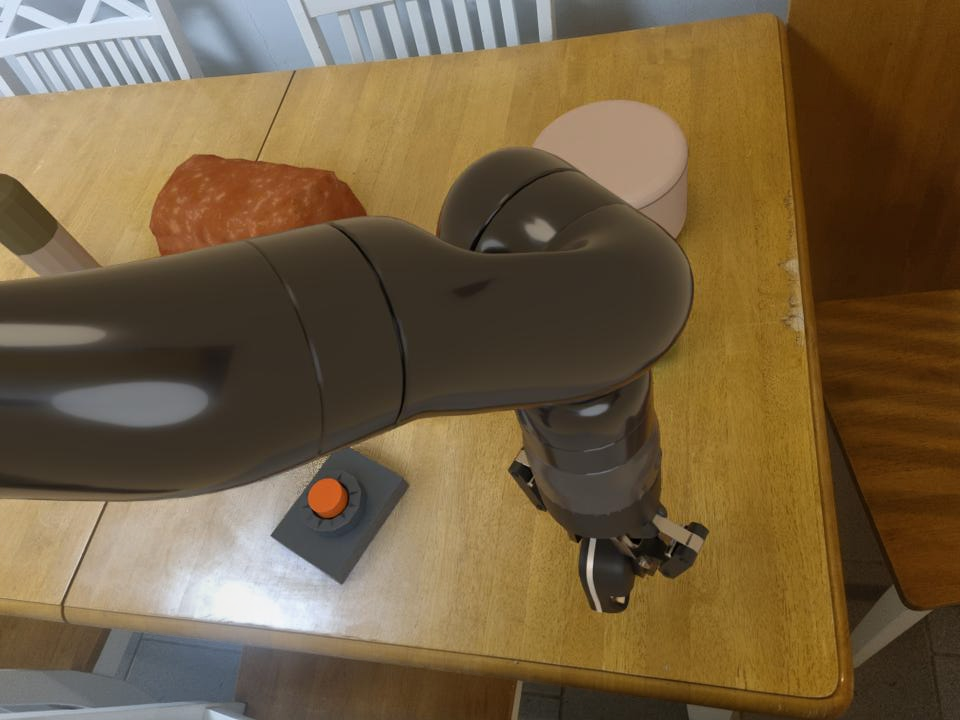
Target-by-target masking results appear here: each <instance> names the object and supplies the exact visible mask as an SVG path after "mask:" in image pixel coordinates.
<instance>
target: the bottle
mask: <svg viewBox="0 0 960 720" xmlns="http://www.w3.org/2000/svg"><path fill="white" fill-rule="evenodd" d="M0 244H1V245H3V247H4V248H6V249H7V250H8V251H9V252H11V253H12V254H13V255H14V256H15V257H16V258H18V259H19V260H20V261H21V262H22V263H24V264H25V265H26V266H28V267H29V268H30V269H31V270H32V271H34V272H35V273H36V274H37V275H38V277H41V276H49V275H56V274H62V273H69V272H76V271H82V270H88V269H94V268H100V267H103V266H102V265H101V264H100V263H99V261H97V260H96V259H95V258H94V257H93V256H92V255H91V253H90V252H88V251H87V249H85V248H84V246H83V245H81V243H80V242H79V241H78V240H77V239H76V238H75V237H74V236H73V235H72V234H71V233H70V232H69V231H68V230H67V229H66V228H65V227H64V225H62V224H61V223H60V222H59V220H58V219H57V218H55V217H54V215H53V214H52V213H51V212H50V211H49V210H48V209H47V208H46V207H45V206H44V205H43V204H42V203H41V202H40V201H39V200H38V199H37V198H36V197H35V196H34V195H33V193H31V192H30V191H29V190H28V189H27V188H26V187H25V186H24V184H23V183H22V182H21V181H19V180H18V179H16V178H15V177H13V176H11V175H9V174H7V173H1V172H0Z"/></svg>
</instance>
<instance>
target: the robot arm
mask: <svg viewBox="0 0 960 720" xmlns="http://www.w3.org/2000/svg"><path fill="white" fill-rule="evenodd" d="M694 278H695V277H694V273H693V271H692V266H691V262H690V260H689V258H688V256H687V254H686V252H685V250H684V248H683V247H682V245H681V244H680V243H679V242H678V241H677V239H676V238H674V237H673V236H672V235H671V234H670V233H669V232H668V231H667V230H666V229H665V228H663V227H662V226H661V225H659V224H658V223H657V222H655V221H654V220H652V219H651V218H649V217H648V216H646V215H645V214H644V213H642V212H641V211H639V210H638V209H636V208H634V207H633V206H632V205H630V204H629V203H627V202H626V201H624V200H623V199H621V198H620V197H618V196H617V195H615V194H614V193H612V192H611V191H609V190H608V189H606V188H605V187H603V186H602V185H600V184H599V183H597V182H596V181H595V180H593V179H592V178H590V177H588V176H587V175H586V174H585V173H583V172H582V171H580V170H579V169H577V168H576V167H574V166H573V165H571V164H570V163H568V162H567V161H565V160H564V159H562V158H560V157H558V156H556V155H554V154H551V153H549V152H546V151H544V150H541V149H537V148H532V146H531V147H529V146H517V145H516V146H508V147H507V146H506V147H504V148H499V149H497V150H494V151H491V152H489V153H486V154H484V155H482V156H480V157H479V158H477V159H476V160H474V161H473V162H472V163H470V164H469V165H467V167H466V168H465V169H464V170H463V171H462V172H461V173H460V174H459V175H458V176H457V178H456V179H455V180H454V182H453V184H451V186H450V188H449V190H448V192H447V194H446V196H445V198H444V201H443V203H442V205H441V207H440V211H439V214H438V218H437V222H436V229H435V234H433V233H431V232H430V231H428V230H425V229H423V228H422V227H420V226H418V225H416V224H414V223H412V222H410V221H407V220H404V219H401V218H398V217H394V216H388V215H368V216H359V217H351V218H345V219H339V220H333V221H328V222H323V223H321V224H320V223H319V224H315V225H310V226H305V227H300V228H295V229H290V230H286V231H281V232H276V233H271V234H266V235H261V236H256V237H252V238H247V239H242V240H238V241H231V242H227V243H222V244H217V245H213V246H208V247H203V248H199V249H194V250H189V251H185V252H180V253H175V254H170V255H165V256H161V255H160V256H155V257H149V258H144V259H138V260H133V261H128V262H123V263H117V264H112V265H106V266H102V267H100V268H94V269H88V270H82V271H76V272H69V273H62V274H56V275H49V276H32V277H24V278H18V279H16V278H15V279H9V280H0V500H25V501H26V500H27V501H51V502H52V501H54V502H56V501H57V502H94V503H95V502H96V503H97V502H101V503H103V502H104V503H105V502H107V503H109V502H110V503H131V502H133V503H134V502H156V501H167V500H179V499H187V498H192V497H199V496H200V497H201V496H205V495H206V496H207V495H211V494H217V493H222V492H226V491H230V490H233V489H238V488H242V487H246V486H249V485H252V484H256V483H259V482H262V481H265V480H268V479H271V478H274V477H277V476H280V475H282V474H285V473H288V472H290V471H293V470H296V469H298V468H301V467H303V466H306V465H309V464H311V463H313V462H316V461H318V460H320V459H323V458H326V457H329V456H330V455H331V454H333V453H336V452H339V451H341V450H344V449H346V448H349V447H350V448H352V447H353V446H357V445H358V444H362V443H364V442H366V441H369V440H371V439H374V438H376V437H379V436H381V435H384V434H385V433H389V432H391V431H393V430H395V429H398V428H401V427H403V426H405V425H408V424H410V423H412V422H415V421H417V420H423V419H431V418H441V417H442V418H443V417H444V418H445V417H461V416H462V417H463V416H473V415H481V414H482V415H483V414H490V413H498V412H499V413H500V412H508V411H513V412H514V414H515V417H516V420H517V422H518V425H519V428H520V430H521V437H522V447H521V448H520V450H519V451H518V452H517V454H516V456H515V457H514V459H513V460H512V462H511V464H510V466H509V467H508V469H507V472H508V473H509V475H510V476H511V477H512V478H513V480H514V481H515V482H516V484H517V485H518V487H519V488H520V489H521V490H522V492H523V493H524V494H525V496H526V497H527V498H528V500H529V501H530V503H531V504H532V505H533V506H534V507H535V509H537V510H538V511H541V512H543V513H547V512H548V514H549V515H550V516H551V517H552V519H553V520H554V522H556V523H557V524H558V525H559V526H561V527H562V528H563V529H564V530H565V531H566V532H567V536H568V538H569V540H570V541H572V542H574V543H576V544H579V543H581V540H582V536H583V537H587V538H594V539H607V538H609V539H610V540H611V541H612V542H613V544H614V545H615V546H616V548H617V549H618V550H619V551H620V553H623V554H625V555H628V556H630V557H632V558H633V560H632V562H633V569H634V574H635V575H636V577H639V578H640V579H644V578H645V577H646V575H648V576H650V577H654V576H655V574H656V572H657V571H658V572H659V573H660V574H661V576H663V577H665V578H667V579H671V580H675V579H676V578H678V577H679V576H680V575H682V574H683V573H685V572H686V571H687V570H689V569H690V568H692V567H693V566H694V564H695V561H696V560H697V557H698V556H699V554H700V552H701V550H702V548H703V546H704V543H705V542H706V540H707V538H708V536H709V534H710V530H709V528H707V527H706V526H705V525H704V524H702V523H700V522H696V521H691V522H689V524H687V523H685V522H683V521H682V522H680V523H679V524H677V523H676V522H674V521H672V520H671V519H669V518H668V509H667V508H666V506H665V505H664V504H663V503H662V502H661V495H662V459H663V450H662V447H661V430H660V429H661V428H660V423H659V417H658V415H657V411H656V409H655V392H654V391H655V389H654V376H653V369H654V367H655V366H657V365H658V364H659V363H660V362H661V361H662V360H663V359H664V358H665V357H666V356H667V355H668V354H669V353H670V352H671V351H672V350H673V349H674V348H673V346H674V347H675V345H676V344H677V342H678V341H679V340H680V338H681V336H682V335H683V333H684V330H686V329H685V328H686V327H687V324H688V321H689V319H690V316H691V314H692V310H693V306H694V298H695V279H694ZM672 348H673V349H672ZM671 349H672V350H671ZM670 350H671V351H670ZM669 351H670V352H669Z"/></svg>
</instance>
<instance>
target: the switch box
mask: <svg viewBox="0 0 960 720" xmlns="http://www.w3.org/2000/svg"><path fill="white" fill-rule="evenodd" d="M326 478H331V479H334V480H336V481H338V482H339V483H340V484H341V485H342V486H343V487H344V489H345V490H346V492H347V495H348V501H347V505H346V507H345V508H344V510H343V511H342V512H341V513H340V514H338V515H337V516H335V517H332V518H324V517H321V516H320V515H318V514H317V513H316V512H315V511H314V510H313V509H312V508H311V507H310V505H309V503H308V495H309V492H310V490H311V488H312V487H313V485H314V484H315V483H317V482H318V481H320V480H322V479H326ZM409 487H410V484H409V483H408V482H407V480H406V479H405V477H404V476H402V475H400V474H398V473H397V472H395V471H393V470H392V469H389V468H388V467H386V466H384V465H382V464H381V463H379V462H377V461H375V460H374V459H372V458H370V457H368V456H366V455H365V454H362V453H361V452H359V451H358V450H355V449H354V448H352V447H349V448H346V449H344V450H341V451H339V452H336V453H333V454H331V455H328V456H327V459H325V460H324V463H323V464H322V465H321V467H320V468H319V469H318V470H317V472H316V473H315V475H314V476H313V477H312V479H311V480H310V481H309V483H308V484H307V485H306V487H305V488H304V489H303V491H302V492H301V493H300V495H299V496H298V498H297V499H296V500H295V501H294V503H293V504H292V505H291V507H290V508H289V510H288V511H287V512H286V513H285V515H284V516H283V518H282V519H281V520H280V521H279V523H278V524H277V526H276V527H275V529H274V530H273V531H272V532H271V533H270V535H269V536H270V538H272V539H273V540H275V541H276V542H277V543H279V544H280V545H282V546H283V547H284V548H286V549H288V550H289V551H291V552H292V553H294V554H295V555H297V556H298V557H299V558H301V559H302V560H304V561H305V562H307V563H308V564H310V565H311V566H313V567H314V568H316V569H317V570H318V571H320V572H322V573H323V574H324V575H326V576H328V577H329V578H330V579H332V580H333V581H334V582H336V583H338V584H339V585H341V586H342V585H343V584H344V582H345V581H346V580H347V578H348V576H349V575H350V573H351V572H352V570H353V569H354V567H355V566H356V564H357V563H358V562H359V560H360V559H361V557H362V556H363V554H364V553H365V551H366V550H367V549H368V547H369V545H370V544H371V543H372V542H373V540H374V538H375V537H376V536H377V534H378V532H379V531H380V529H381V528H382V526H383V525H384V523H385V522H386V521H387V519H388V517H390V515H391V513H392V511H393V510H395V507H396V506H397V505H398V503H399V502H400V500H401V499H402V497H403V496H404V494H405V493H406V492H407V490H408V489H409Z"/></svg>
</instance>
